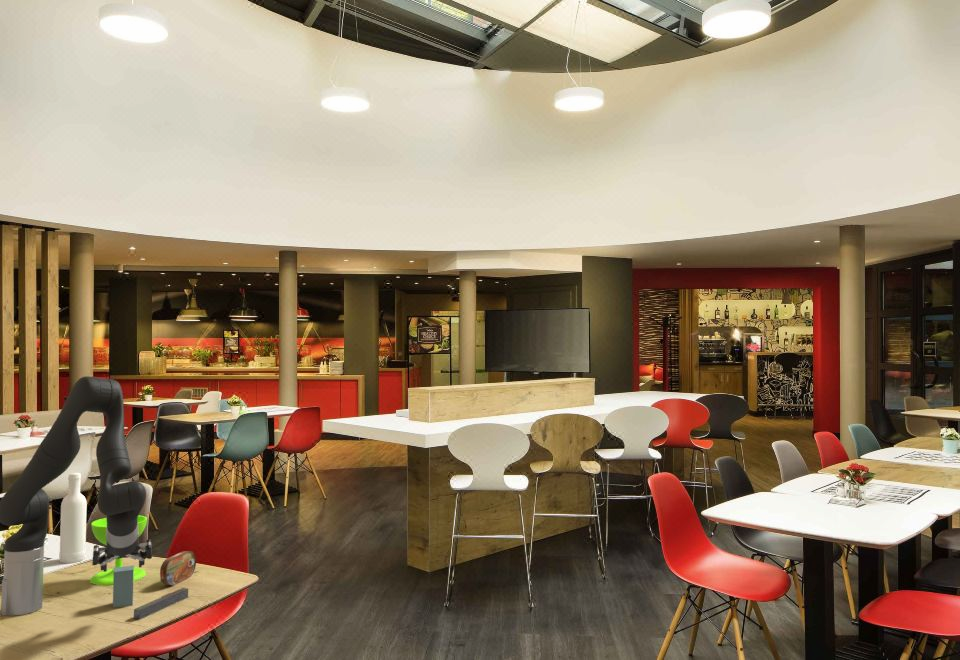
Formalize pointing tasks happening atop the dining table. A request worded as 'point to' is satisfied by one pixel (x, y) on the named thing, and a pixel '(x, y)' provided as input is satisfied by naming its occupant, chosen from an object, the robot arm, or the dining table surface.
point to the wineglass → (107, 577)
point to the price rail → (160, 603)
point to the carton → (123, 586)
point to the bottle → (73, 523)
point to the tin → (177, 568)
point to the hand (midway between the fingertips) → (122, 566)
